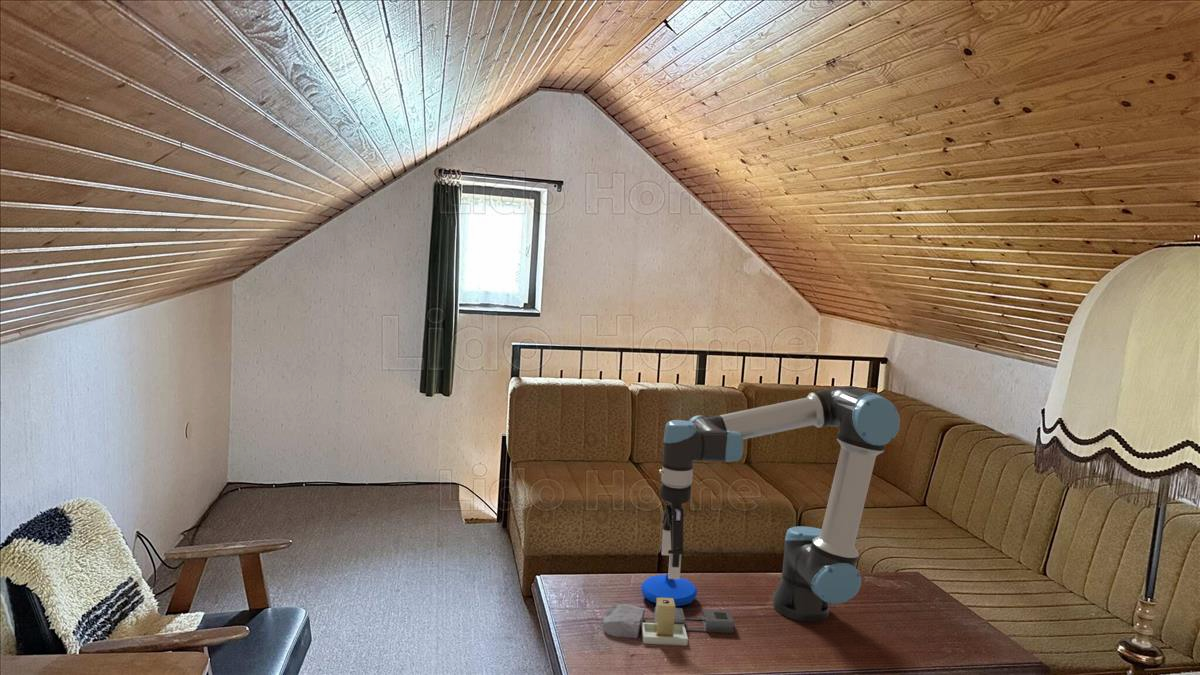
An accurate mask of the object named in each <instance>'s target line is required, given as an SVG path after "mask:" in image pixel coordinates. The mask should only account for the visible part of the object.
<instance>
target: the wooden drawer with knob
mask: <svg viewBox="0 0 1200 675" xmlns="http://www.w3.org/2000/svg"><path fill="white" fill-rule="evenodd" d="M655 604H656V605H655V607H656V614H655V621H654V623H655V627H654V633H655V636H665V637H673V630H674V617H675V608H676V606H675V603H674V599H673V598H658V597H657V601H656V603H655Z"/></svg>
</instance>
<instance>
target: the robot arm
mask: <svg viewBox="0 0 1200 675" xmlns="http://www.w3.org/2000/svg"><path fill="white" fill-rule="evenodd" d="M900 424H901V418H900V413H899V412H898V409H897V408H896V406H895V404H894V403H893V402H891V401H890V400H888V398H885V397H883V395H880V394H877V393H876V392H875V393H874V392H872V391H868V390H867V389H866V390H865V389H863V388H860V387H857V386H852V385H847V386H846V385H844V386H837V387H833V388H828V389H824V390H823V389H822V390H817V391H813V392H809V393H808V395H807V396H806V397H804V398H803V397H802V398H797V399H792V400H787V401H783V402H778V403H773V404H769V405H763V406H759V407H753V408H748V409H744V410H738V411H734V412H730V413H725V414H720V415H714V416H710V417H708V416H706V415H700V414H699V415H698V414H697V415H694V416H693V417H691V418H689V420H683V419H682V420H681V419H673V420H670V421H668V422H666V424H665V427H664V435H663V440H662V442H663V447H662V448H663V451H662V464H661V465H662V467H661V468H662V469H659V474H661V476H660V477H661V478H660V480H661V483H660V488H659V489H660V491H659V498H660V499H662V500H663V501H664V502H665V504H664V510H663V511H664V512H663V517H662V521H661V523H662V524H663V525H662V527H663V530H662V542H661V556H669V557H668V558H669V560H668V573H667V574H668V579H680V577H681V566H682V556H683V555H684V516H685V513H684V507H683V505H682V504H685V503H688V502H689V501H690V500H691V497H692V496H691V495H692V486H691V484H693V475H694V474H693V472H694V462H723V463H725V462H726V463H729V462H738V461H739V460H741V459H742V456H743V454H744V440H747V439H750V438H751V439H752V438H758V437H762V436H766V435H772V434H777V433H781V432H787V431H790V430H796V429H800V428H805V427H811V426H814V427H816V428H817V429H818V428H819V429H820V428H825V427H835V428H838V432H837V436H836V441H837V442H838V444H839V445H840V451H839V455H838V459H837V464H836V467H835V472H834V476H833V480H832V484H831V489H830V492H829V496H828V500H827V505H826V510H825V514H824V517H823V521H822V522H823V523H822V526H821V528H818V527H812V526H806V525H805V526H802V525H801V526H792V527H790V528H788V529H787V530H786V532H785V538H784V548H783V550H784V551H783V561H782V572H781V573H782V574H781V578H780V581H779V583H778V585H777V588H776V589H775V592H774V593H773V597H772V607H773V608H774V609H775V611H777V612H778V614H780V615H781V616H784V617H786V618H789V619H791V620H795V621H797V622H798V621H799V622H803V623H817V622H823V621H825V620H826V619H827V618H828V617H829V615H830V605H840V604H845V603H847V602H848V601H849V600H852V599H853V598H855V596H856V595H857V594H858V592H859V591H860V588H861V587H862V586H861V585H862V577H861V574H860V572H859V570H858V569H857V563H858V559H859V555H860V553H859V551H858V549H857V548H856V545H855V544H856V541H857V536H858V534H859V533H858V532H859V527H860V524H861V521H862V520H861V519H862V517H863V511H864V509H865V503H866V500H867V494H868V491H869V487H870V483H871V478H872V476H873V475H872V474H873V470H874V467H875V461H876V458H877V456H878V455H880V454H882V453H884V452H885V449H886V445H887V444H889V443H890V442H891V440H893V439H895V438H896V436H897V435H898V432H899V430H900V426H901V425H900Z"/></svg>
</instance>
